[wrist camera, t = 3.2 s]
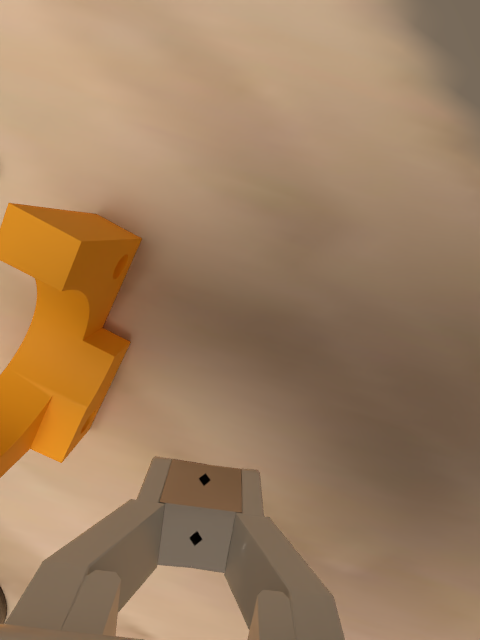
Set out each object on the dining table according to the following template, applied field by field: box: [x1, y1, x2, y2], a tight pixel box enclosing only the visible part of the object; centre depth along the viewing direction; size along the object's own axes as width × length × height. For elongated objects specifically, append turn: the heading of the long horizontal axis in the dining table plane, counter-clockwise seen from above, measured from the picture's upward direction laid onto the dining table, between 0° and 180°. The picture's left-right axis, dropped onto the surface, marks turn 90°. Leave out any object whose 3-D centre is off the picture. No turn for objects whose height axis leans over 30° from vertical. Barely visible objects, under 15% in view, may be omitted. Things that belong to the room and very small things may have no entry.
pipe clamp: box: [0, 203, 142, 478], centre depth 15 cm, size 12×4×6 cm, turn 152°
